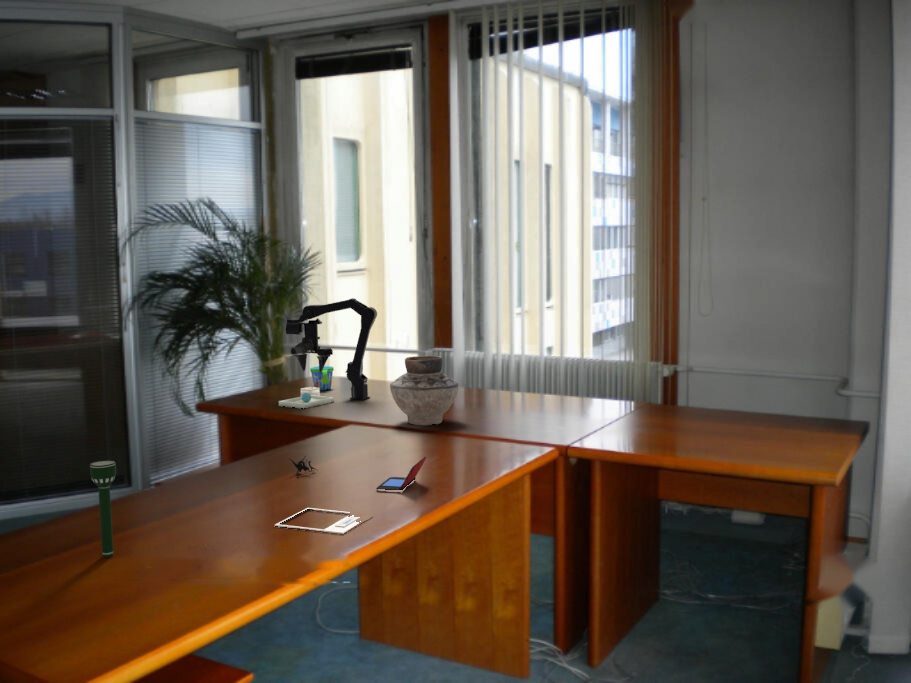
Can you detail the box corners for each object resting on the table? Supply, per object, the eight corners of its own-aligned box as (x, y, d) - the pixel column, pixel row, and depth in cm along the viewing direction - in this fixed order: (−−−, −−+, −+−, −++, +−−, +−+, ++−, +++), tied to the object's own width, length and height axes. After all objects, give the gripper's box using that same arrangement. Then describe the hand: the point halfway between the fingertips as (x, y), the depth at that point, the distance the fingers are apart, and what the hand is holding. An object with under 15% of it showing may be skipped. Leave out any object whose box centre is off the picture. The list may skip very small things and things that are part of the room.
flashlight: (124, 551, 194) (119, 459, 192) (116, 560, 189) (110, 465, 187) (100, 552, 194) (94, 460, 191) (91, 560, 188) (85, 466, 186)
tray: (334, 402, 380) (333, 397, 379) (304, 408, 365) (303, 403, 365) (309, 399, 387) (309, 394, 387) (278, 406, 373) (278, 401, 372)
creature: (324, 477, 259) (306, 467, 264) (326, 460, 258) (308, 450, 263) (302, 483, 253) (284, 473, 258) (305, 465, 252) (286, 455, 257)
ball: (313, 401, 377) (312, 392, 376) (306, 403, 373) (306, 393, 373) (306, 401, 379) (305, 391, 378) (299, 402, 375) (299, 393, 375)
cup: (323, 397, 394) (323, 387, 393) (310, 399, 387) (310, 390, 386) (309, 395, 398) (309, 386, 398) (297, 398, 391) (296, 388, 391)
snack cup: (309, 387, 421) (309, 365, 420) (332, 386, 424) (331, 364, 423) (312, 392, 406) (311, 370, 405) (335, 391, 409) (335, 369, 408)
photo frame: (343, 531, 203) (274, 523, 210) (343, 536, 203) (274, 528, 210) (373, 513, 216) (307, 506, 223) (373, 518, 216) (307, 511, 223)
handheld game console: (390, 480, 251) (389, 454, 250) (427, 482, 248) (427, 455, 247) (374, 492, 239) (373, 464, 238) (413, 494, 236) (413, 466, 235)
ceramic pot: (381, 427, 324) (380, 361, 321) (402, 415, 348) (400, 353, 345) (449, 430, 318) (448, 362, 316) (465, 416, 342) (465, 353, 339)
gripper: (281, 335, 384) (282, 372, 386) (315, 337, 374) (317, 374, 376) (298, 333, 393) (300, 369, 395) (332, 334, 384) (334, 371, 385)
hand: (312, 371), depth 388 cm, fingers open, 9 cm apart
